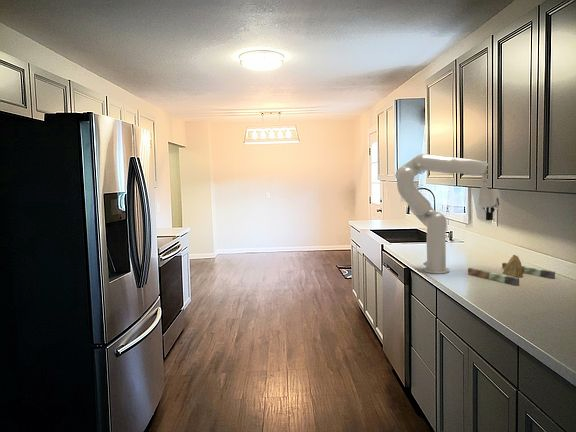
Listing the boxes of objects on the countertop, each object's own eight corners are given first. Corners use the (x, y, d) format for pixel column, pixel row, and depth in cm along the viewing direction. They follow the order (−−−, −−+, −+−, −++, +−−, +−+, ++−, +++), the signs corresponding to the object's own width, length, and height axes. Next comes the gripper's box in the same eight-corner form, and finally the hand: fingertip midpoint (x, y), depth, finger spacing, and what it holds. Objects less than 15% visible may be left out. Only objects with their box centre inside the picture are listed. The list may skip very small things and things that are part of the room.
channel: (468, 274, 226) (468, 268, 225) (504, 268, 236) (504, 262, 236) (516, 285, 200) (516, 279, 200) (554, 278, 210) (555, 271, 210)
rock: (529, 273, 213) (526, 266, 222) (517, 259, 213) (515, 253, 222) (509, 285, 217) (507, 278, 226) (497, 271, 217) (496, 265, 227)
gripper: (473, 185, 235) (473, 219, 237) (495, 185, 221) (495, 221, 223) (483, 184, 238) (483, 218, 240) (507, 184, 224) (506, 220, 226)
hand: (489, 220), depth 231 cm, fingers closed
